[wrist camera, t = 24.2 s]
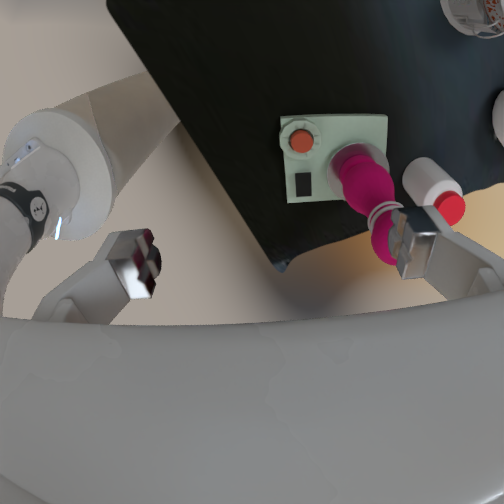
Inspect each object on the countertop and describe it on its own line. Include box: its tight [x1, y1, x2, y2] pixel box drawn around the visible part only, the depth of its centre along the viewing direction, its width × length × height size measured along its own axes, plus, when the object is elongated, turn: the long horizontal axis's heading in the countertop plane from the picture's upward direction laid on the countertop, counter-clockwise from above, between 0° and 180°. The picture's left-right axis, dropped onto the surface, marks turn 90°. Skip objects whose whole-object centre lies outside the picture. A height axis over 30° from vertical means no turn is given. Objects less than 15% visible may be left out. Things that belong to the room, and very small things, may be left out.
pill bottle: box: [402, 157, 465, 226], centre depth 40 cm, size 8×8×11 cm
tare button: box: [290, 130, 313, 153], centre depth 39 cm, size 3×3×2 cm
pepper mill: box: [340, 155, 403, 266], centre depth 34 cm, size 7×7×20 cm
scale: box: [279, 114, 388, 203], centre depth 42 cm, size 16×14×3 cm
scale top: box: [295, 142, 389, 201], centre depth 42 cm, size 15×10×1 cm
